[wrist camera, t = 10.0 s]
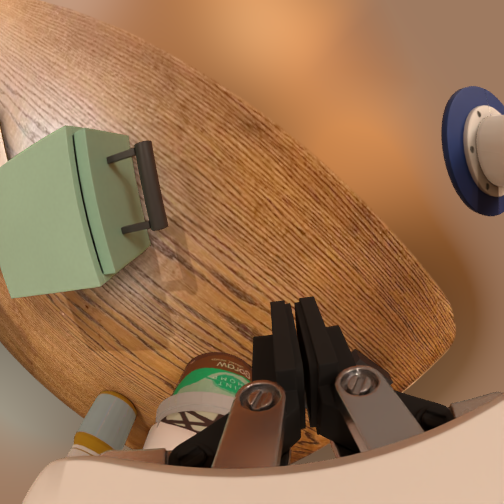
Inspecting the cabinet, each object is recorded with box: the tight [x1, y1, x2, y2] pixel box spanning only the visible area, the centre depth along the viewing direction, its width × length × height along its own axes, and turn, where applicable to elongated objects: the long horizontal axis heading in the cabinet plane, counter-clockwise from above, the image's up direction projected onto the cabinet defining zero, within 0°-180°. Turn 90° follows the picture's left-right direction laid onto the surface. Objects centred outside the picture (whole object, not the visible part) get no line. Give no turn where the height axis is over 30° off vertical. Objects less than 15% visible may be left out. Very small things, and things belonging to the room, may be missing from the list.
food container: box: [156, 352, 252, 433], centre depth 27 cm, size 12×6×10 cm, turn 74°
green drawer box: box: [0, 125, 145, 298], centre depth 22 cm, size 14×13×10 cm
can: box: [143, 422, 197, 451], centre depth 28 cm, size 12×12×20 cm
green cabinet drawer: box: [74, 128, 168, 275], centre depth 21 cm, size 17×11×8 cm
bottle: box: [67, 391, 137, 457], centre depth 28 cm, size 7×7×15 cm
